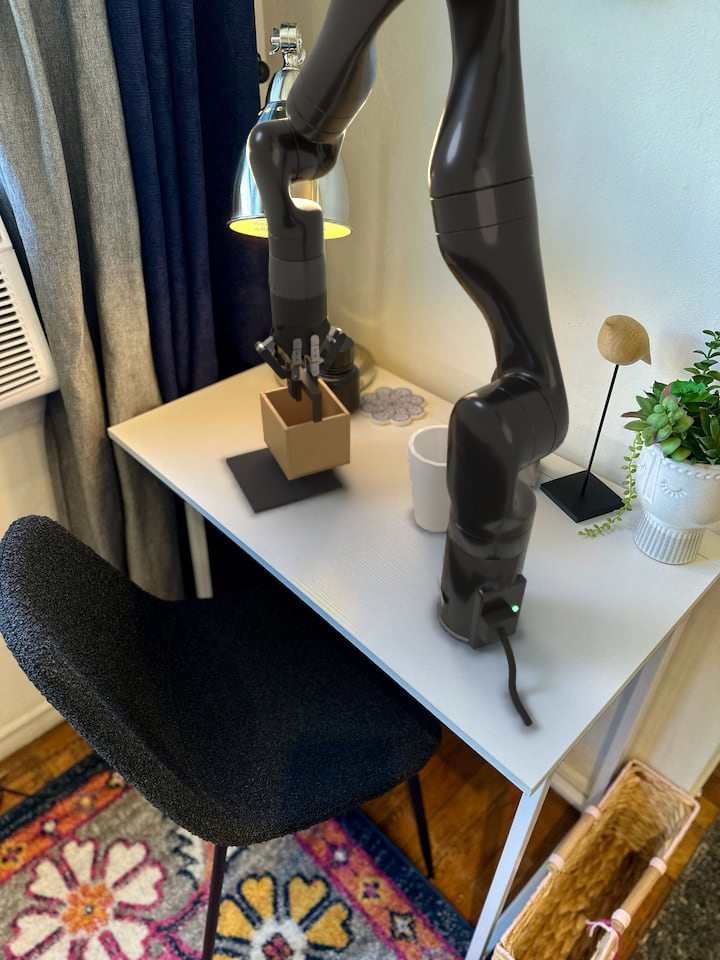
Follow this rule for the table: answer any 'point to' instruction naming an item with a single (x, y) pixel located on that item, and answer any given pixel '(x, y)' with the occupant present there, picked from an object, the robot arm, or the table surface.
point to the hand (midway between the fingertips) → (303, 396)
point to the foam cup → (429, 477)
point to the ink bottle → (343, 376)
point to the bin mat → (276, 481)
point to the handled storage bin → (306, 428)
